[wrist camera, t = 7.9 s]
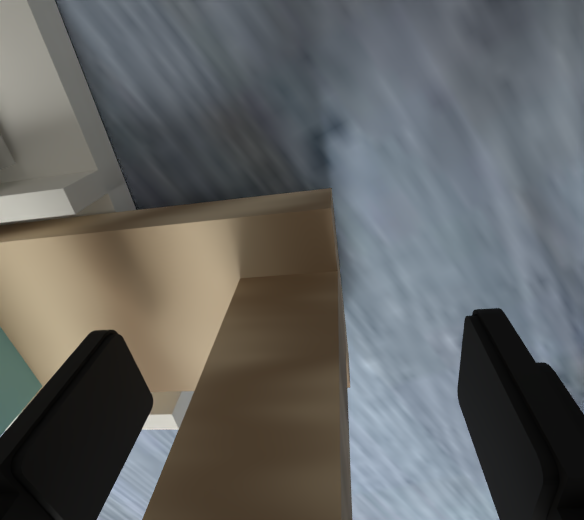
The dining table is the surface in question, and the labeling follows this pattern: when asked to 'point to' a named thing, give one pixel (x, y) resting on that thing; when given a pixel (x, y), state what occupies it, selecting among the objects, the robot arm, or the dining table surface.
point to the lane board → (58, 143)
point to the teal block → (14, 382)
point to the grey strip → (5, 155)
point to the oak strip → (207, 340)
